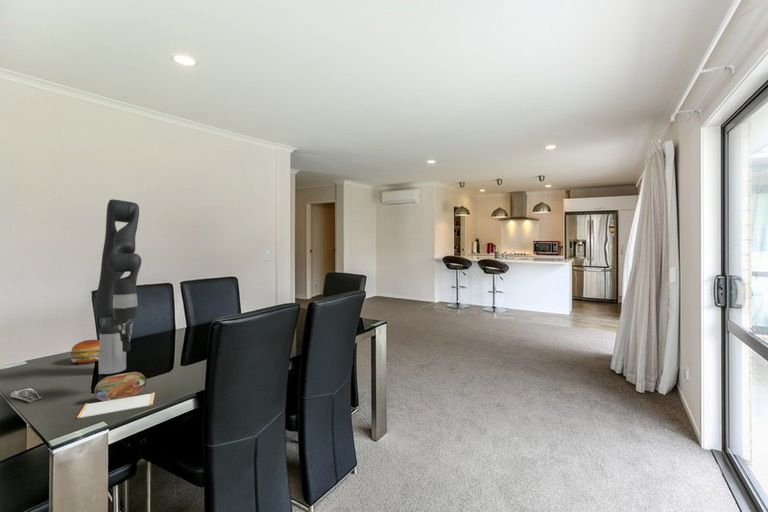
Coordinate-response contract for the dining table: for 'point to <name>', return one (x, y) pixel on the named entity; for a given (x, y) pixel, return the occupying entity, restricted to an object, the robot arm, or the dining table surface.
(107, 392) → the tin
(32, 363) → the dining table surface
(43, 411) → the dining table surface
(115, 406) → the mat
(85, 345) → the burger
